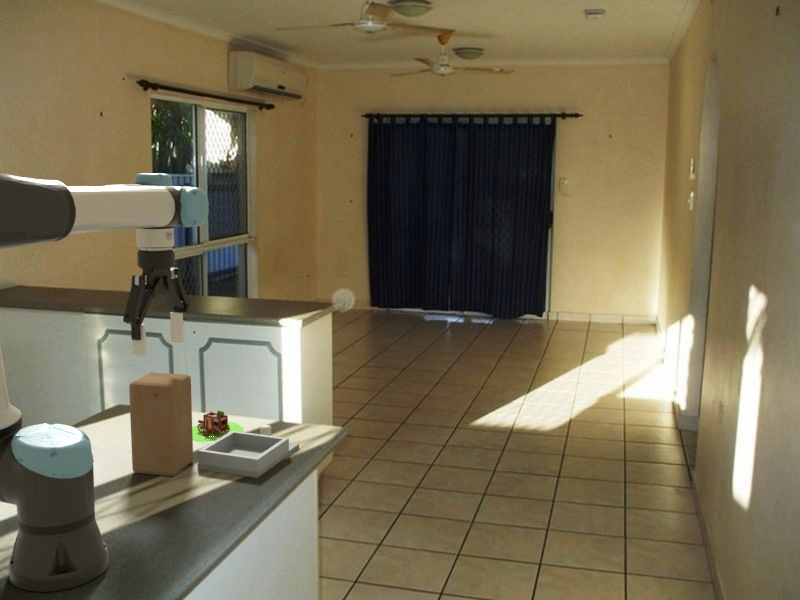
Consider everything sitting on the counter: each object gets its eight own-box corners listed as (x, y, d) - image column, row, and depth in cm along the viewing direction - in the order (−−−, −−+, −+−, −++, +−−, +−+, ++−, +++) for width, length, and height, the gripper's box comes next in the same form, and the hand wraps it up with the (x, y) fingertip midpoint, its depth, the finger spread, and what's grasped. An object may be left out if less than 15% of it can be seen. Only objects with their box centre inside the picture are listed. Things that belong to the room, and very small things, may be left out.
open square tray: (257, 478, 182) (257, 455, 181) (197, 468, 186) (197, 446, 185) (299, 447, 200) (298, 427, 199) (243, 440, 205) (243, 419, 204)
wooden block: (174, 478, 181) (171, 385, 177) (130, 473, 183) (126, 382, 179) (195, 461, 191) (192, 373, 187) (153, 457, 193) (150, 370, 189)
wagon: (219, 448, 201) (218, 423, 200) (171, 437, 208) (171, 412, 207) (260, 431, 213) (260, 407, 212) (214, 420, 221) (213, 397, 220)
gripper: (134, 255, 166) (138, 362, 169) (204, 243, 189) (206, 338, 193) (101, 253, 168) (106, 359, 172) (174, 242, 192) (177, 335, 195)
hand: (159, 348), depth 182 cm, fingers open, 13 cm apart
